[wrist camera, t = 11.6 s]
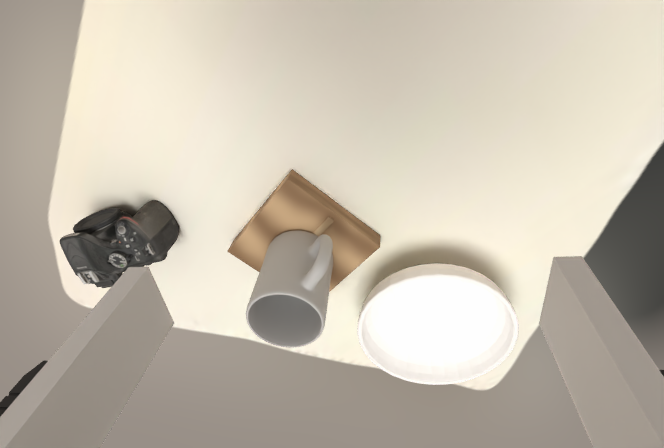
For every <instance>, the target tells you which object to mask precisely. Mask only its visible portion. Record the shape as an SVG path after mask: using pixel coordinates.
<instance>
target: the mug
mask: <svg viewBox="0 0 664 448" xmlns="http://www.w3.org/2000/svg"><path fill="white" fill-rule="evenodd" d="M332 250H333V243H332V239H331V238H330V237H329V236H328V235H326V234H322V235H320V236H319V237H318V236H317V235H315V234H313V233H310V232H306V231H299V230H295V231H288V232H285V233H282V234H280V235H278V236H277V237H276V238H274V239H273V241H272V242H271V243H270V245H269V247H268V249H267V252H266V255H265V258H264V261H263V264H262V267H261V270H260V273H259V276H258V278H257V281H256V284H255V287H254V289H253V292H252V295H251V298H250V301H249V303H248V306H247V311H246V319H247V323H248V325H249V327H250V328H251V330H252V331H253V332H254V333H255V334H256V335H257V336H258V337H259V338H261V339H262V340H264V341H266V342H268V343H271V344H274V345H277V346H281V347H300V346H304V345H307V344H310V343H312V342H313V341H315V340H316V339H317V338H318V337H319V336H320V335H321V333H322V331H323V329H324V325H325V318H326V311H327V303H328V296H329V288H330V281H331V274H332V268H333V254H332Z"/></svg>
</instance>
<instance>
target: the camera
mask: <svg viewBox="0 0 664 448" xmlns="http://www.w3.org/2000/svg"><path fill="white" fill-rule="evenodd" d="M73 230H74V232H75V233H73V234H69V235H66V236H64V237H62V238H61V239H60V244H61V247H62V249H63V251H64V254H65V256H66V258H67V260H68V262H69V264H70V265H71V267H72V269H73V270H74V272H75V274H76V275H77V276H79V278H80V279H81V281H82V282H83V283H84V284H90V283H92V284H95V285H96V286H97V287H102V288H106V287H112V286H113V285H114V284H115V282H116V281H117V280H118V279H119V278H120V277H121V275H122V272H125V271H126V270H127V268H128V267H144V266H145V265H151V264H152V263H154V262H159V261H162V260H165V258H166V257H167V252H168V250H169V249H170V248H171V247H172V245H173V244H174V243H175V241H176V240H177V237H178V232H179V228H178V225H177V223H176V221H175V219H174V217H173V215H172V214H171V212H170V211H169V210H168V209H167V208H166V207H165V206H164V205H163V204H161V203H160V202H158V201H150V202H148V203H147V204H145V205H144V206H143V207H142V208H141V209H140V210H139V211H138V212H137V213H136V214H135V215H134V216H133V217H132V216H131V215H130V214H128V213H127V212H121V210H120V209H119V208H109V209H104V210H101V211H99V212H96V213H94V214H91V215H89V216H87V217H86V218H84V219H82V220H81V221H79V222H78V223H77V224H76V225H75V226H74V227H73Z"/></svg>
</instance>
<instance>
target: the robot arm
mask: <svg viewBox="0 0 664 448" xmlns="http://www.w3.org/2000/svg"><path fill="white" fill-rule="evenodd" d="M173 324H174V322H173V320H172V317H171V315H170V313H169V311H168V309H167V306H166V304H165V302H164V300H163V298H162V295H161V293H160V291H159V289H158V287H157V284H156V282H155V280H154V278H153V276H152V274H151V271H150V269H149V267H128V268H127V270H126V271H125V272H124V273H123V274H122V275H121V277H120V278H119V279H118V280H117V281H116V282H115V284H114V285H113V286H112V287H111V288H110V289H109V291H108V292H107V293H106V294H105V295H104V296H103V298H102V299H101V300H100V301H99V302H98V303H97V305H96V306H95V307H94V308H93V309H92V310H91V312H90V313H89V314H88V315H87V316H86V318H85V319H84V320H83V321H82V322H81V323H80V325H79V326H78V327H77V328H76V329H75V330H74V332H73V333H72V334H71V335H70V336H69V337H68V339H67V340H66V341H65V342H64V343H63V344H62V345H61V347H60V348H59V349H58V350H57V351H56V353H55V354H54V355H53V356H52V357H51V358H50V359H49V361H43V362H41V363H40V364H39V365H37V366H36V367H35V368H34V369H32V370H31V371H30V372H28V373H27V374H26V375H24V376H23V377H22V379H21V380H20V381H19V382H18V383H17V384H16V385H15V387H14V388H13V389H12V390H11V391H10V392H9V396H6V397H5V398H4V399H3V400H2V401H1V402H0V448H100V447H101V446H102V444H103V442H104V440H105V439H106V437H107V436H108V434H109V432H110V431H111V429H112V427H113V425H114V424H115V422H116V420H117V419H118V417H119V415H120V414H121V412H122V410H123V409H124V407H125V405H126V404H127V402H128V400H129V398H130V397H131V395H132V393H133V392H134V390H135V388H136V387H137V385H138V383H139V382H140V380H141V378H142V377H143V375H144V373H145V372H146V370H147V368H148V367H149V365H150V363H151V361H152V360H153V358H154V356H155V355H156V353H157V351H158V350H159V348H160V346H161V345H162V343H163V341H164V340H165V338H166V336H167V335H168V332H169V331H170V329H171V328H172V326H173ZM539 324H540V326H541V329H542V331H543V333H544V336H545V338H546V340H547V343H548V345H549V347H550V349H551V352H552V354H553V357H554V359H555V361H556V363H557V366H558V368H559V370H560V373H561V375H562V377H563V380H564V382H565V384H566V386H567V389H568V391H569V393H570V396H571V398H572V400H573V402H574V405H575V407H576V409H577V412H578V414H579V416H580V419H581V421H582V423H583V426H584V428H585V430H586V433H587V435H588V437H589V440H590V442H591V444H592V447H593V448H664V370H659V369H658V368H657V366H656V365H655V363H654V362H653V360H652V359H651V357H650V356H649V354H648V353H647V351H646V350H645V349H644V347H643V346H642V344H641V343H640V341H639V340H638V338H637V337H636V336H635V334H634V332H633V331H632V329H631V328H630V327H629V325H628V324H627V322H626V321H625V319H624V318H623V316H622V315H621V313H620V312H619V310H618V309H617V307H616V306H615V305H614V303H613V302H612V300H611V299H610V297H609V296H608V294H607V293H606V291H605V290H604V288H603V287H602V285H601V284H600V283H599V281H598V280H597V278H596V277H595V275H594V274H593V272H592V271H591V270H590V268H589V266H588V265H587V264H586V262H585V261H584V259H583V258H582V256H575V257H554V258H553V262H552V267H551V271H550V276H549V280H548V285H547V290H546V294H545V299H544V303H543V308H542V312H541V317H540V321H539Z"/></svg>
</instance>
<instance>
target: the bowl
mask: <svg viewBox="0 0 664 448" xmlns="http://www.w3.org/2000/svg"><path fill="white" fill-rule="evenodd" d="M518 330H519V324H518V320H517V316H516V313H515V311H514V309H513V307H512V305H511V303H510V301H509V300H508V298H507V296H506V295H505V294H504V293H503V292H502V290H501V289H500V288H499V287H498V286H497V285H496V284H495V283H494V282H493V281H492V280H490V279H489V278H487V277H485V276H484V275H482V274H481V273H478V272H476V271H474V270H471V269H469V268H466V267H461V266H457V265H453V264H439V263H435V264H422V265H417V266H413V267H409V268H405V269H403V270H400V271H398V272H395V273H393V274H391V275H390V276H388V277H386V278H385V279H383V280H382V281H380V282H379V283H378V284H377V285H376V286H375V287H374V288H373V289H372V290H371V292H370V293H369V295H368V296H367V298H366V299H365V302H364V304H363V306H362V309H361V312H360V315H359V319H358V331H357V334H358V339H359V343H360V345H361V347H362V349H363V351H364V353H365V354H366V355H367V357H368V358H369V359H370V360H371V361H372V362H373V363H374V364H375V365H377V366H378V367H379V368H380V369H382V370H384V371H385V372H387V373H389V374H391V375H393V376H395V377H398V378H401V379H403V380H407V381H411V382H416V383H421V384H431V385H433V384H434V385H437V384H452V383H459V382H463V381H467V380H471V379H474V378H476V377H479V376H481V375H483V374H486V373H488V372H489V371H491V370H492V369H494V368H495V367H497V366H498V365H499V364H500V363H501V362H503V361H504V360H505V359H506V358H507V357H508V355H509V354H510V352H511V351H512V350H513V348H514V346H515V344H516V341H517V338H518Z"/></svg>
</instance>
